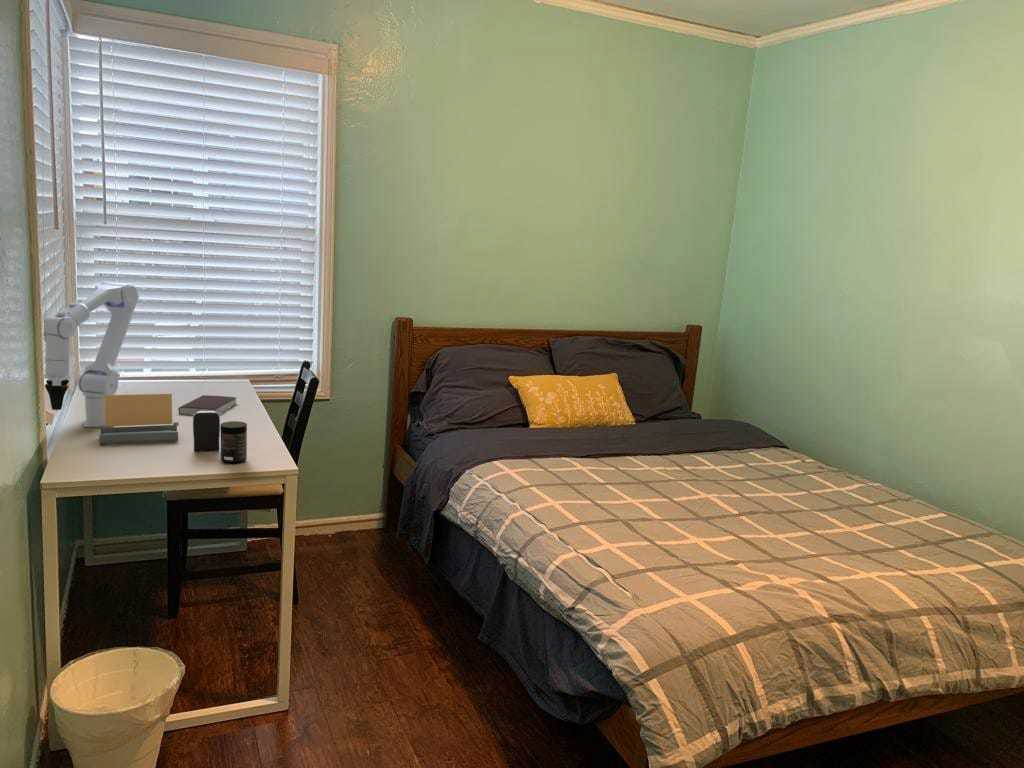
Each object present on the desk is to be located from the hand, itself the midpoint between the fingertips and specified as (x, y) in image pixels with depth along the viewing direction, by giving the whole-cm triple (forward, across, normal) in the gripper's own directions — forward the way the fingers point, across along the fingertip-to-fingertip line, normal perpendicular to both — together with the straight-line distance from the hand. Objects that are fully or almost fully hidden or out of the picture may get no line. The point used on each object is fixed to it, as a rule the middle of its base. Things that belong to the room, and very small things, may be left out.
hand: (56, 407), depth 217 cm
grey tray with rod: (+8, +8, +21) cm, 24 cm away
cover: (0, +4, +21) cm, 21 cm away
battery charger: (+8, +23, +37) cm, 44 cm away
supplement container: (+9, +36, +42) cm, 56 cm away
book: (+6, -25, +44) cm, 51 cm away
